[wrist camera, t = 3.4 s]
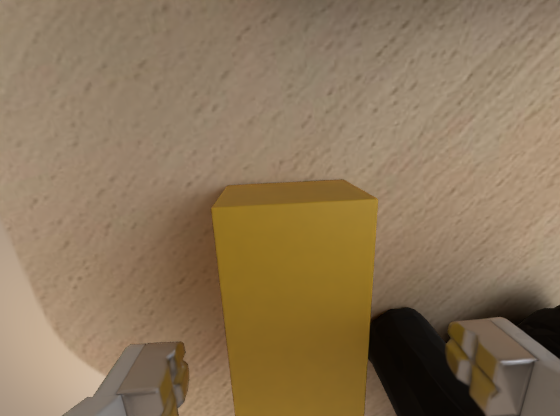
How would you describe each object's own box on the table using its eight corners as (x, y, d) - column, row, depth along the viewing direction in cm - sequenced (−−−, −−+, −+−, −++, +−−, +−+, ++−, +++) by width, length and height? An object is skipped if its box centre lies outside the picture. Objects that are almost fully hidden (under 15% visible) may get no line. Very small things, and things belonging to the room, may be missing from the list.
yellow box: (243, 357, 13) (236, 432, 10) (226, 185, 11) (210, 207, 8) (339, 349, 14) (364, 420, 10) (344, 179, 11) (379, 198, 8)
